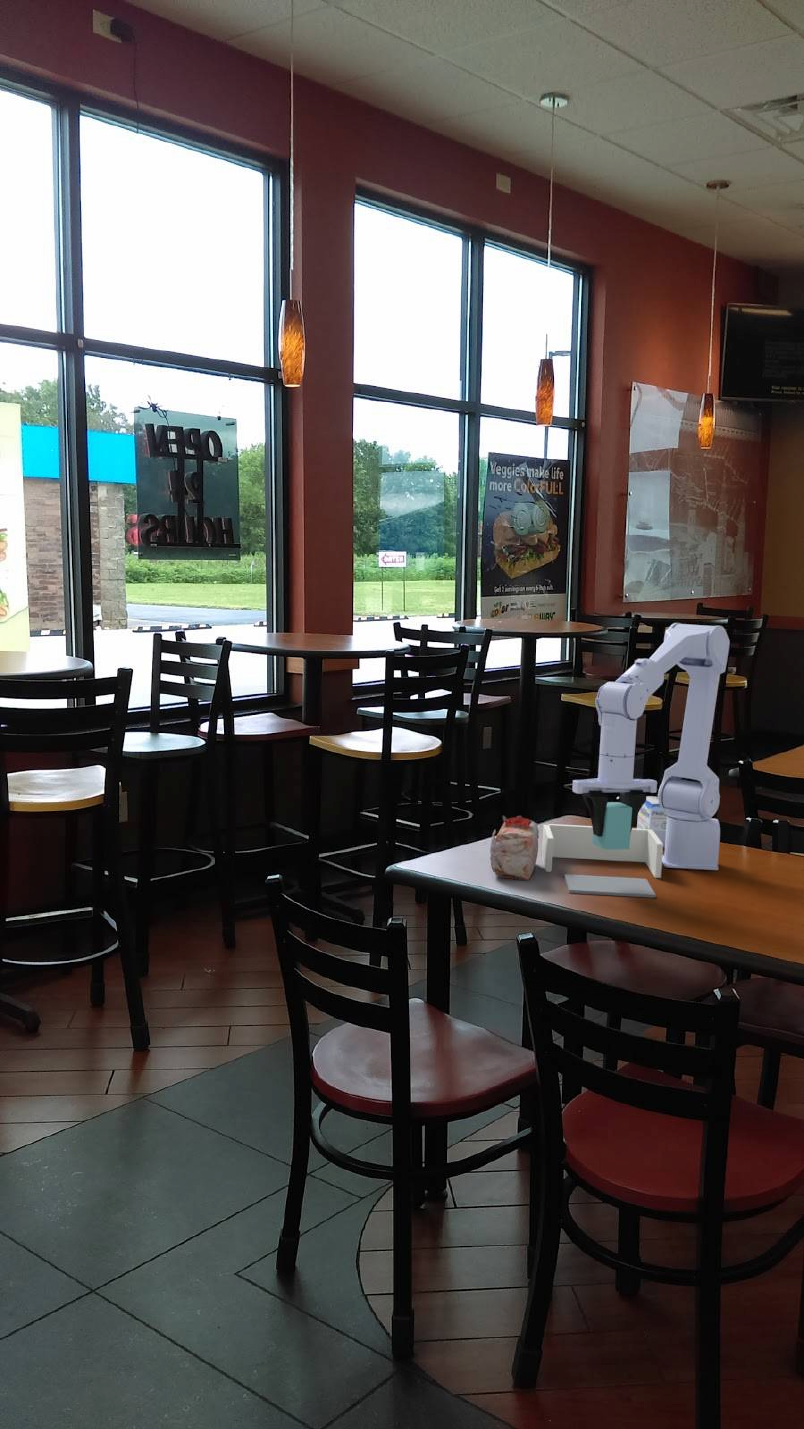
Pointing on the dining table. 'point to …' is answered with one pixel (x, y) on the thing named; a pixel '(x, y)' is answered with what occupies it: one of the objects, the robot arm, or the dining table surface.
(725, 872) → the dining table surface
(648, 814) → the medicine box
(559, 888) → the dining table surface
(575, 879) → the slate mat
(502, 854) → the food item
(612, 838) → the teal block
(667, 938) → the dining table surface
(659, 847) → the open folding screen
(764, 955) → the dining table surface
